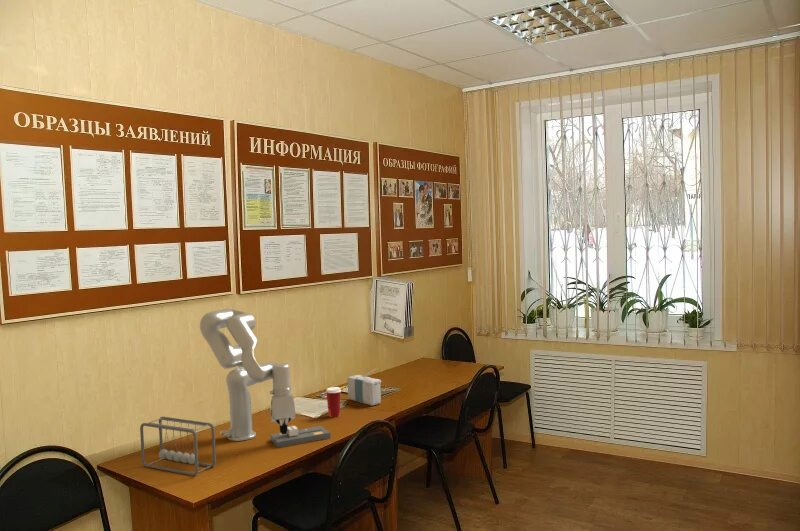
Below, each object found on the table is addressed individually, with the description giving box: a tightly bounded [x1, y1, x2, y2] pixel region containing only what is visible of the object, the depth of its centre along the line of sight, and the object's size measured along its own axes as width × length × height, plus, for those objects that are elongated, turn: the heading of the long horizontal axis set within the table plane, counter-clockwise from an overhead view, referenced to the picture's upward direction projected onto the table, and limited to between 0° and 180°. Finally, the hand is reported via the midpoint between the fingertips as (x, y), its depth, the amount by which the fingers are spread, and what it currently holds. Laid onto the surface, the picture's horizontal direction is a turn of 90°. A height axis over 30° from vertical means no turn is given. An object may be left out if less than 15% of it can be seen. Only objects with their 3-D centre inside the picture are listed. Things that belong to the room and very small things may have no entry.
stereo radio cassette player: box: [347, 366, 382, 407], centre depth 333 cm, size 21×8×20 cm, turn 42°
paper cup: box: [325, 386, 342, 418], centre depth 308 cm, size 8×8×14 cm
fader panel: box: [269, 425, 331, 449], centre depth 273 cm, size 24×12×3 cm, turn 117°
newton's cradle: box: [139, 416, 217, 477], centre depth 244 cm, size 30×10×18 cm, turn 64°
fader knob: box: [286, 425, 299, 437], centre depth 272 cm, size 4×5×3 cm
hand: (283, 433), depth 270 cm, fingers closed
